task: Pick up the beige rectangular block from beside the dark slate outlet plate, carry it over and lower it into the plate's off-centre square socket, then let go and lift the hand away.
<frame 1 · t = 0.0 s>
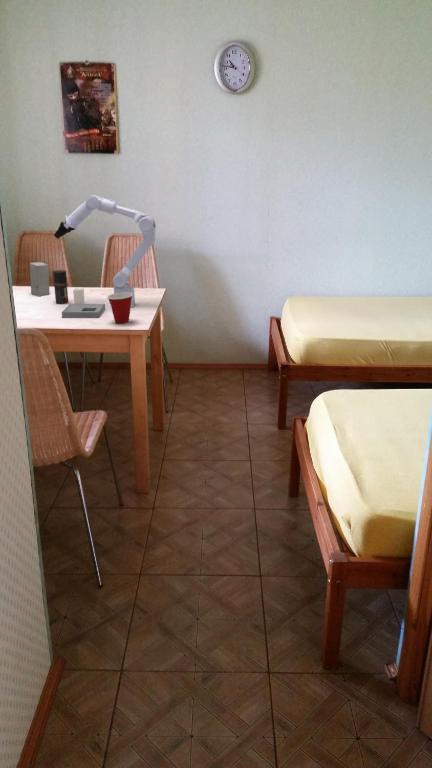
hand: (57, 235, 281), 32 cm above the table, tool tilted 50°, fingers open, 7 cm apart
skincare box: (41, 294, 315), on the table
plastic cup: (121, 322, 264), on the table
deodorant: (62, 303, 298), on the table
outlet plate: (84, 313, 278), on the table
beige rectangular block: (79, 306, 291), on the table
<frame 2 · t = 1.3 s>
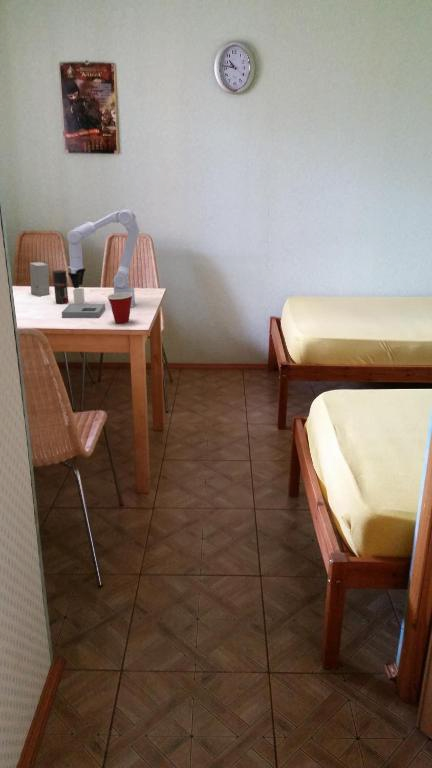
hand: (78, 286, 288), 9 cm above the table, tool pointing down, fingers open, 7 cm apart
nothing on the table moved.
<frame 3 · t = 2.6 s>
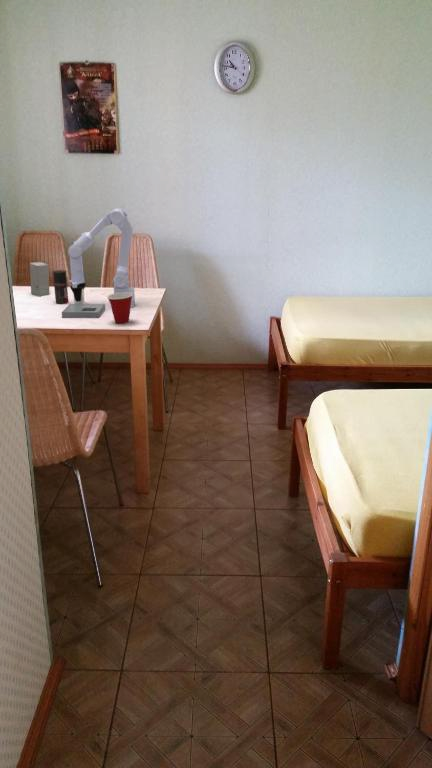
hand: (79, 300, 290), 3 cm above the table, tool pointing down, fingers closed on beige rectangular block, 4 cm apart
beige rectangular block: (79, 306, 291), on the table, touching gripper
everything else where it was.
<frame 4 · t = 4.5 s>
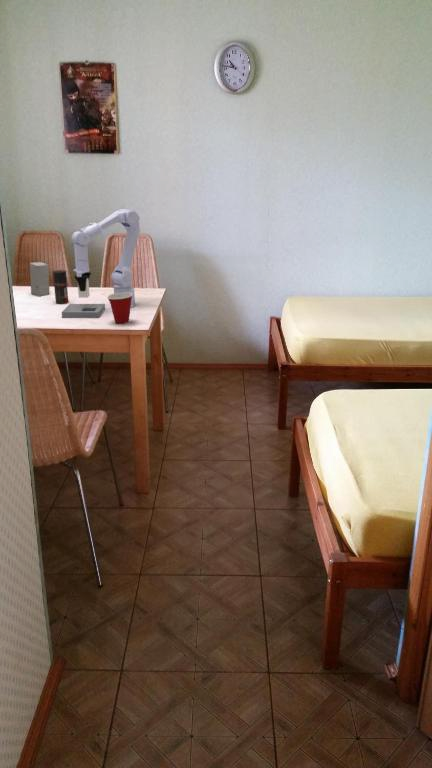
hand: (84, 290, 277), 10 cm above the table, tool pointing down, fingers closed on beige rectangular block, 4 cm apart
beige rectangular block: (84, 296, 279), point 7 cm above the table, touching gripper
everything else where it was.
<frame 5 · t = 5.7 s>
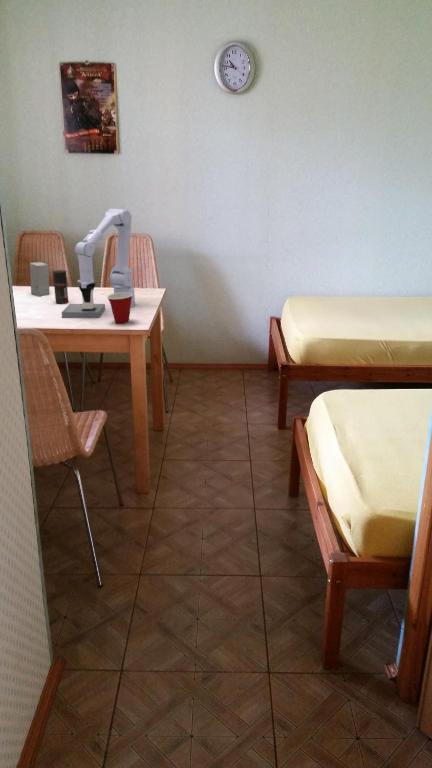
hand: (88, 301, 273), 6 cm above the table, tool pointing down, fingers closed on beige rectangular block, 4 cm apart
beige rectangular block: (88, 307, 274), point 3 cm above the table, touching gripper
everything else where it was.
when the fingers open (4 cm above the table, at t = 6.6 s): beige rectangular block stays where it is, resting in outlet plate.
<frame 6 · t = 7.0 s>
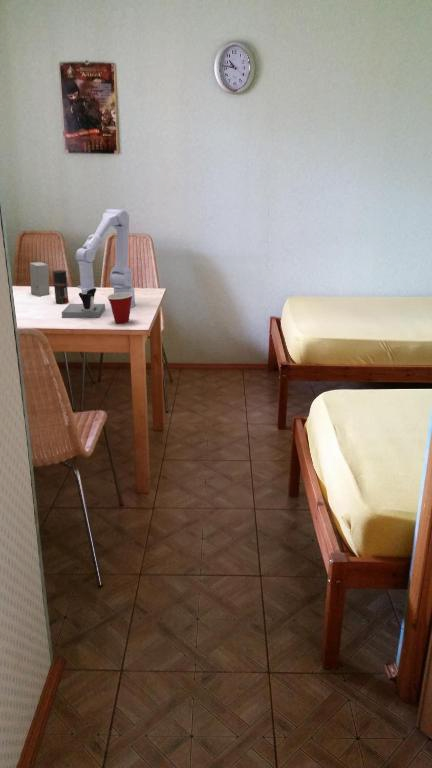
hand: (88, 306, 274), 4 cm above the table, tool pointing down, fingers open, 7 cm apart
beige rectangular block: (89, 315, 275), resting in outlet plate
everything else where it was.
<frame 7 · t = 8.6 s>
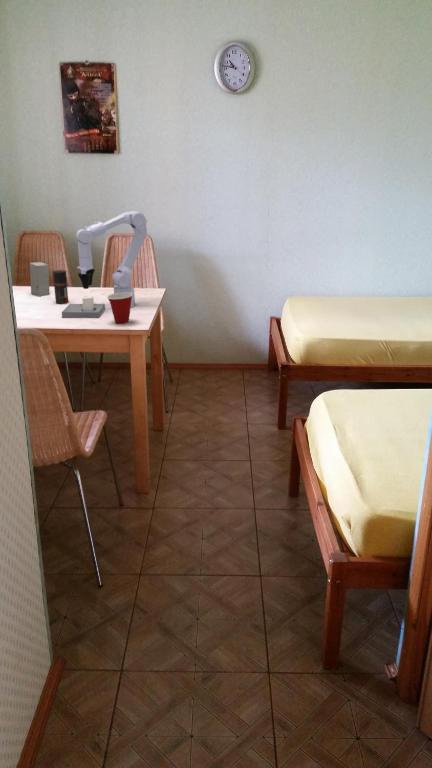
hand: (87, 286, 282), 10 cm above the table, tool pointing down, fingers open, 7 cm apart
nothing on the table moved.
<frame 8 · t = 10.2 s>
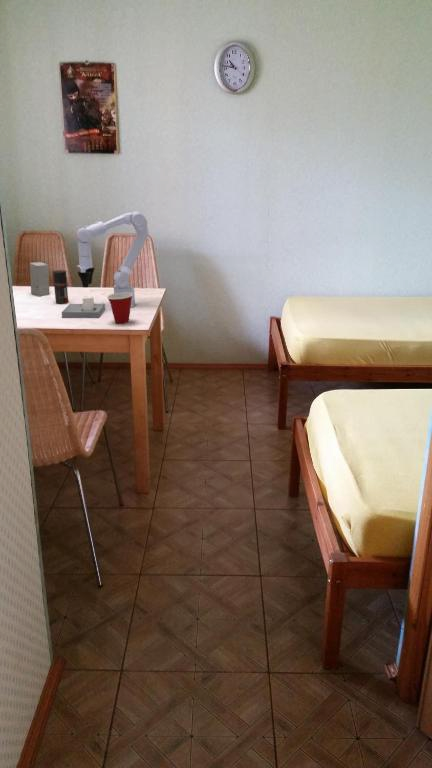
hand: (87, 285, 284), 10 cm above the table, tool pointing down, fingers open, 7 cm apart
nothing on the table moved.
at the end: beige rectangular block 0.2 cm from the target spot on the outlet plate, point 0.0 cm above the outlet plate's base; beige rectangular block tilted 0°; the gripper is holding nothing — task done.
